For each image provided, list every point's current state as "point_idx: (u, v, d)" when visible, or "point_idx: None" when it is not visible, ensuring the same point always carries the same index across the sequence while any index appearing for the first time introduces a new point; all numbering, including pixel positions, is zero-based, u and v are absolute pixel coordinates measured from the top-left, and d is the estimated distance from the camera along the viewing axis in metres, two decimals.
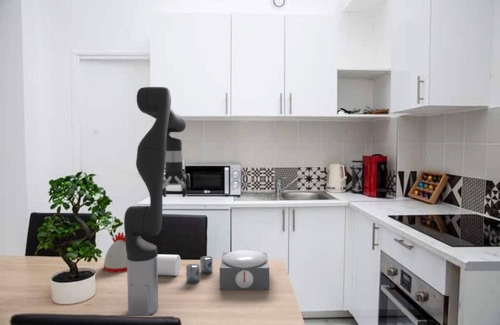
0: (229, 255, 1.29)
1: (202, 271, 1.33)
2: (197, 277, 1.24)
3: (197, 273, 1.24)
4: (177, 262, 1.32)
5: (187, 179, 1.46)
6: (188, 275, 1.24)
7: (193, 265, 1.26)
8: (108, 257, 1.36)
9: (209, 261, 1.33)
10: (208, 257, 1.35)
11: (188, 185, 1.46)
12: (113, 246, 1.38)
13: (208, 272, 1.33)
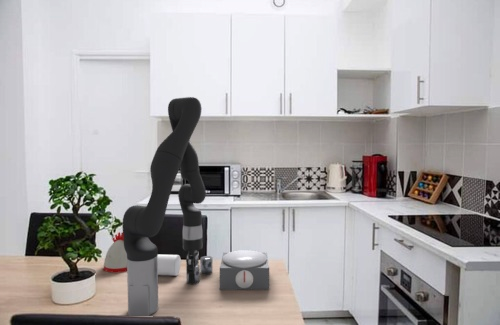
0: (229, 255, 1.29)
1: (202, 271, 1.33)
2: (197, 277, 1.24)
3: (197, 273, 1.24)
4: (177, 262, 1.32)
5: None
6: (188, 275, 1.24)
7: None
8: (108, 257, 1.36)
9: (209, 261, 1.33)
10: (208, 257, 1.35)
11: None
12: (113, 246, 1.38)
13: (208, 272, 1.33)
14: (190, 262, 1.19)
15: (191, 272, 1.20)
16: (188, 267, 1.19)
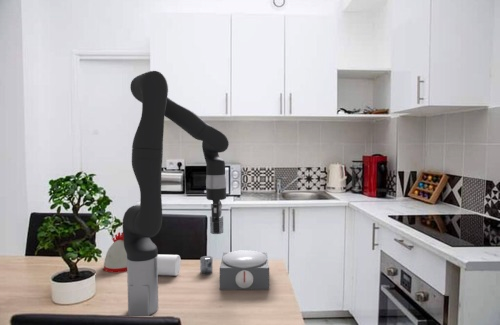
0: (229, 255, 1.29)
1: (202, 271, 1.33)
2: (222, 227, 1.23)
3: (221, 223, 1.23)
4: (177, 262, 1.32)
5: None
6: (212, 225, 1.22)
7: None
8: (108, 257, 1.36)
9: (209, 261, 1.33)
10: (208, 257, 1.35)
11: None
12: (113, 246, 1.38)
13: (208, 272, 1.33)
14: (215, 210, 1.17)
15: (216, 221, 1.19)
16: (213, 215, 1.18)
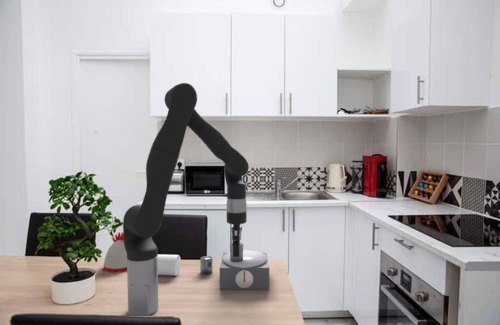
0: (229, 255, 1.29)
1: (202, 271, 1.33)
2: (241, 255, 1.22)
3: (241, 251, 1.22)
4: (177, 262, 1.32)
5: None
6: (232, 253, 1.21)
7: None
8: (108, 257, 1.36)
9: (209, 261, 1.33)
10: (208, 257, 1.35)
11: None
12: (113, 246, 1.38)
13: (208, 272, 1.33)
14: (236, 233, 1.16)
15: (237, 245, 1.16)
16: (234, 238, 1.16)
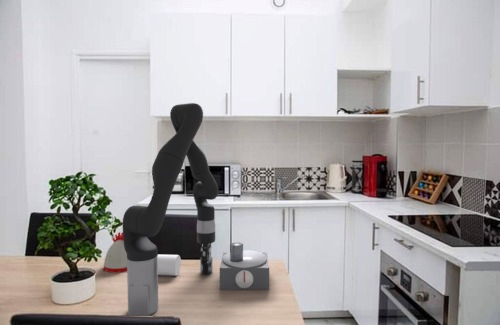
0: (229, 255, 1.29)
1: (202, 271, 1.33)
2: (241, 255, 1.22)
3: (241, 251, 1.22)
4: (177, 262, 1.32)
5: None
6: (232, 253, 1.21)
7: (236, 243, 1.24)
8: (108, 257, 1.36)
9: (209, 261, 1.33)
10: None
11: (210, 254, 1.40)
12: (113, 246, 1.38)
13: (208, 272, 1.33)
14: (204, 254, 1.28)
15: (205, 263, 1.29)
16: (202, 259, 1.28)
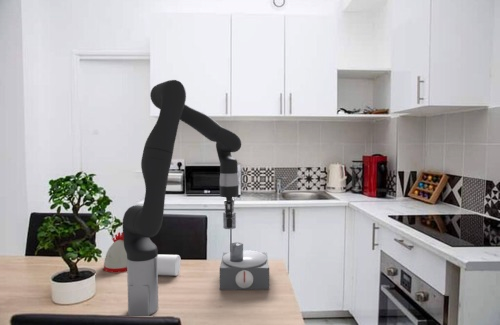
0: (229, 255, 1.29)
1: (225, 226, 1.30)
2: (241, 255, 1.22)
3: (241, 251, 1.22)
4: (177, 262, 1.32)
5: None
6: (232, 253, 1.21)
7: (236, 243, 1.24)
8: (108, 257, 1.36)
9: (233, 215, 1.30)
10: None
11: None
12: (113, 246, 1.38)
13: (232, 226, 1.30)
14: (229, 206, 1.25)
15: (230, 216, 1.26)
16: (227, 211, 1.25)
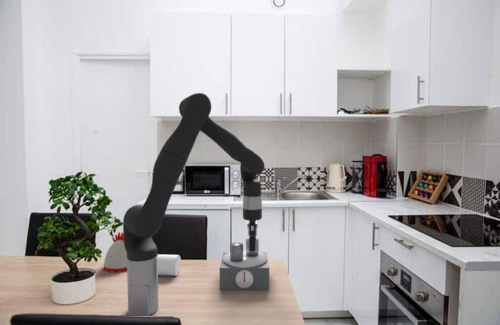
0: (229, 255, 1.29)
1: (248, 253, 1.27)
2: (241, 255, 1.22)
3: (241, 251, 1.22)
4: (177, 262, 1.32)
5: None
6: (232, 253, 1.21)
7: (236, 243, 1.24)
8: (108, 257, 1.36)
9: (256, 243, 1.27)
10: None
11: None
12: (113, 246, 1.38)
13: (255, 254, 1.27)
14: (253, 228, 1.22)
15: (253, 240, 1.22)
16: (251, 233, 1.22)
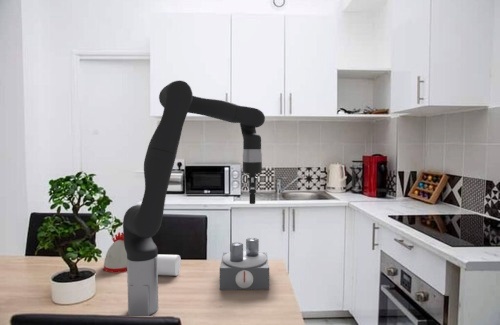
0: (229, 255, 1.29)
1: (248, 253, 1.27)
2: (241, 255, 1.22)
3: (241, 251, 1.22)
4: (177, 262, 1.32)
5: None
6: (232, 253, 1.21)
7: (236, 243, 1.24)
8: (108, 257, 1.36)
9: (256, 243, 1.27)
10: (254, 239, 1.29)
11: None
12: (113, 246, 1.38)
13: (255, 254, 1.27)
14: (253, 179, 1.21)
15: (253, 191, 1.21)
16: (250, 185, 1.21)
